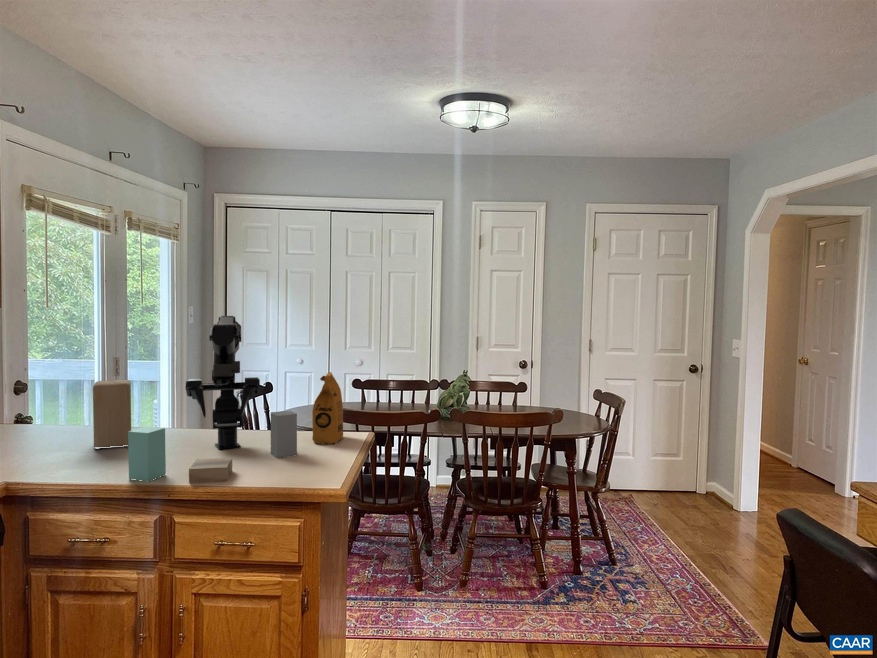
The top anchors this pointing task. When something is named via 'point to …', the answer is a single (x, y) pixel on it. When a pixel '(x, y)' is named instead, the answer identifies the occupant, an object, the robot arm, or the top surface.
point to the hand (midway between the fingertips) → (223, 416)
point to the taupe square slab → (210, 470)
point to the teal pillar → (146, 453)
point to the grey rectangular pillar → (283, 434)
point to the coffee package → (328, 412)
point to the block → (111, 412)
